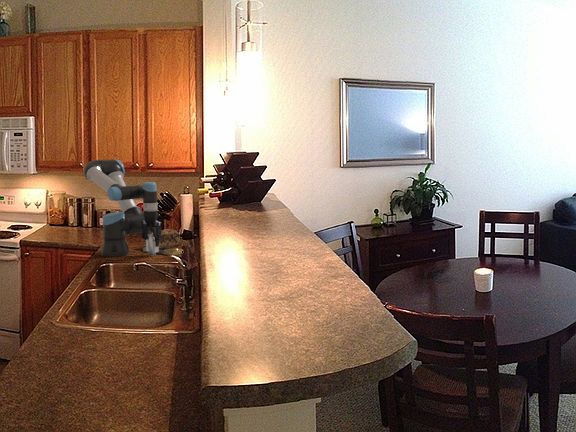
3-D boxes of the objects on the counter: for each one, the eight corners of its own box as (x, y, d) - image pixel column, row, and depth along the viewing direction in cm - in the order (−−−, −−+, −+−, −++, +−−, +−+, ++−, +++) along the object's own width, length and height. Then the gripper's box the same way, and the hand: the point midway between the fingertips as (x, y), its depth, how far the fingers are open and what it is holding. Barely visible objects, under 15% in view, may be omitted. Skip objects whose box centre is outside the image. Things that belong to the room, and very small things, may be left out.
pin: (146, 255, 303) (145, 234, 301) (152, 254, 307) (151, 233, 305) (152, 256, 300) (151, 234, 299) (158, 254, 304) (157, 233, 303)
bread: (169, 243, 341) (169, 227, 340) (180, 245, 334) (180, 229, 333) (145, 247, 326) (144, 231, 325) (156, 249, 320) (155, 233, 319)
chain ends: (143, 251, 315) (142, 246, 314) (153, 249, 321) (153, 244, 321) (173, 255, 302) (173, 250, 301) (183, 253, 308) (183, 248, 308)
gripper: (133, 210, 302) (135, 251, 305) (157, 212, 292) (159, 254, 295) (143, 208, 308) (145, 248, 311) (167, 210, 298) (169, 252, 301)
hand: (152, 251), depth 303 cm, fingers open, 6 cm apart
